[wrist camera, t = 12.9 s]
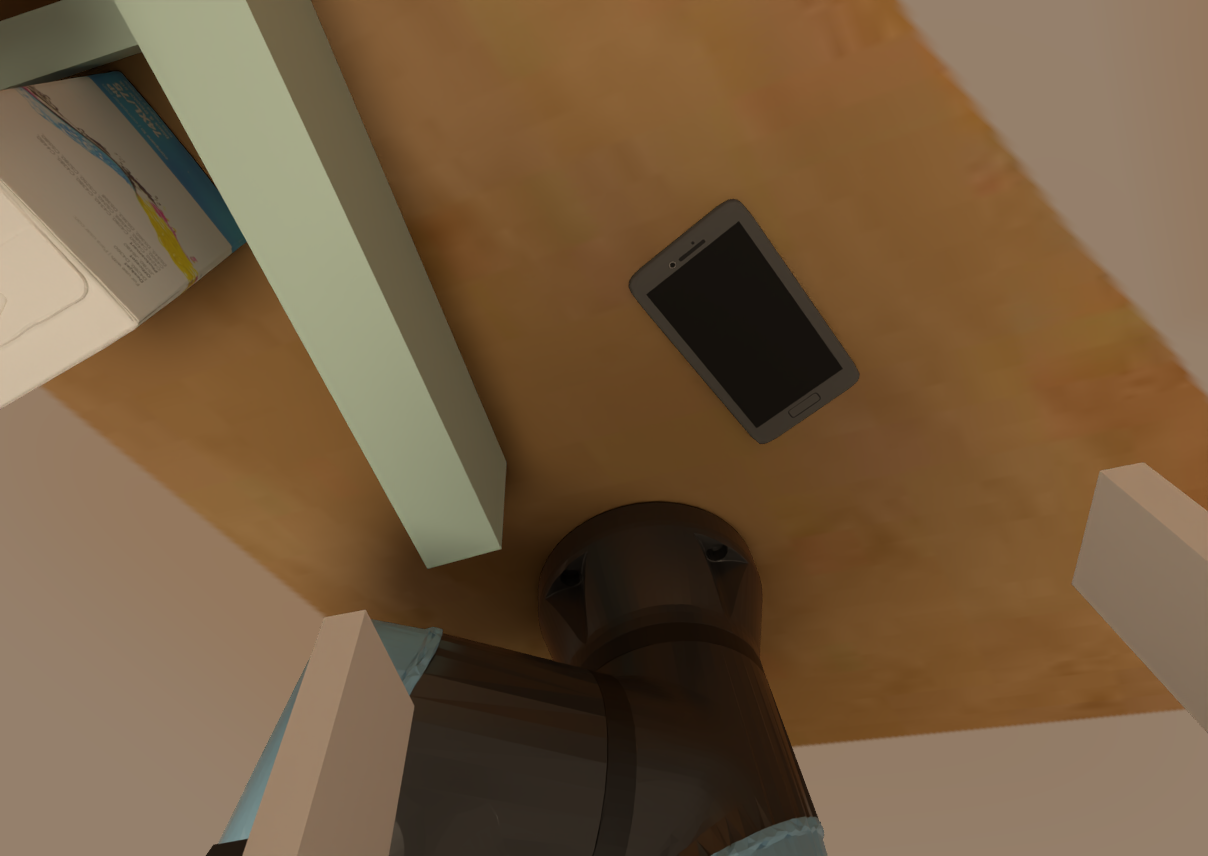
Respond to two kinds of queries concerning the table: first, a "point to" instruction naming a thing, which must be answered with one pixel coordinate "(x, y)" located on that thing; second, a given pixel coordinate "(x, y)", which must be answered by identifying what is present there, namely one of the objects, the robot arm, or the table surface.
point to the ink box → (94, 223)
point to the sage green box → (308, 232)
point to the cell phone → (744, 322)
